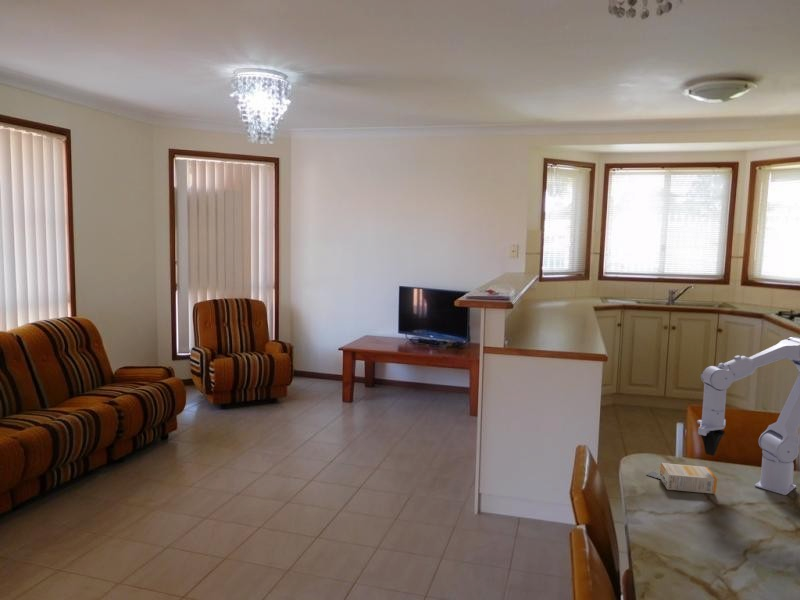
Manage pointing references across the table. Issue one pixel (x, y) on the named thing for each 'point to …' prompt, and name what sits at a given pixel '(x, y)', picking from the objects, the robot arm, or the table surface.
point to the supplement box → (688, 478)
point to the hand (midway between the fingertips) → (710, 454)
